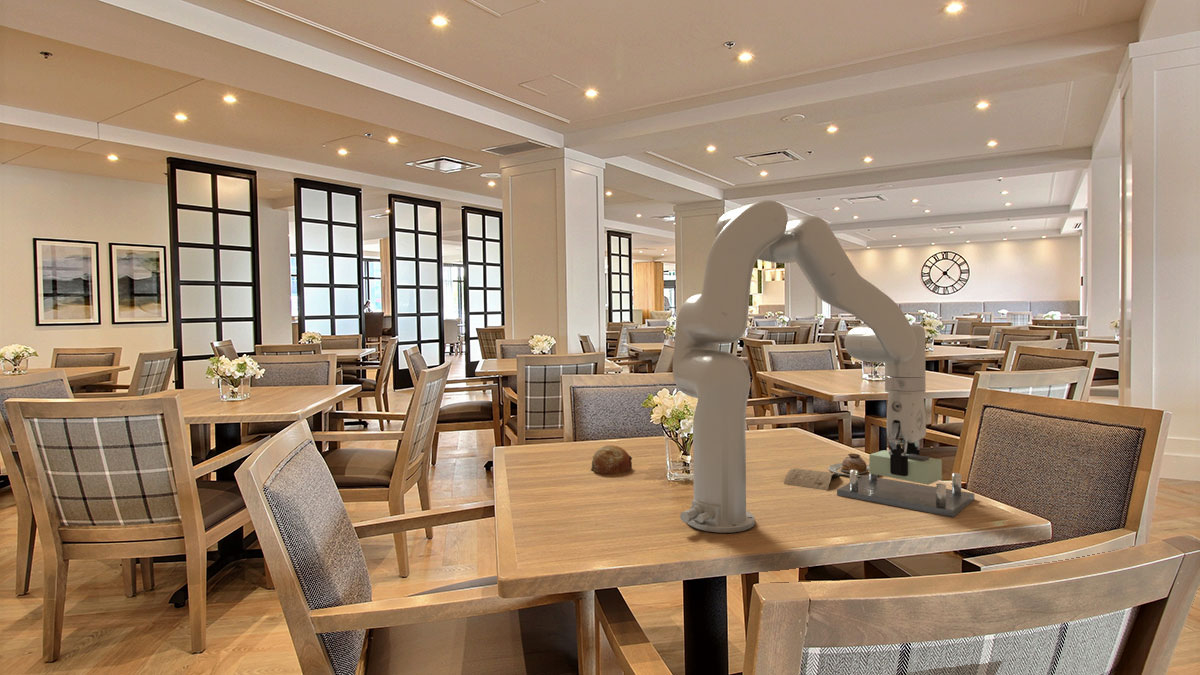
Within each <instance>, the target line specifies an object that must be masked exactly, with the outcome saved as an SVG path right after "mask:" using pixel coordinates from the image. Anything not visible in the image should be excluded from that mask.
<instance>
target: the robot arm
mask: <svg viewBox="0 0 1200 675" xmlns="http://www.w3.org/2000/svg"><path fill="white" fill-rule="evenodd" d="M714 237H715V239H714V240H713V243H712V245H711V246H710V249H709V252H708V254H707V258H706V262H705V270H704V276H703V284H702V290H701V293H696V294H694V295H692V296H691V297H688V298H687V299H686V300H685V301H684V302H683V303H682V305H681V307H680V308H679V312H678V313H677V317H676V324H675V332H674V345H673V354H672V355H673V356H672V376H673V377H672V378H673V381H674V383H675V385H676V387H677V389H679V391H680V392H681V393H683V394H685V395H687V396H689V397H692V398H694V399H697V404H696V406H695V410H694V414H693V421H692V450H693V451H692V452H693V453H692V456H693V458H692V459H693V460H692V461H693V466H692V468H693V469H692V470H693V474H692V475H693V499H692V500H691V507H690V508H689V509H686V510H685V511H682V512H681V513H680V514H679V517H680V520H681V521H682V522H683V523H685V524H686V523H687V524H688V526H690V527H692V528H694V529H697V530H699V531H700V530H701V531H703V532H710V533H719V534H726V533H727V534H728V533H738V532H739V533H741V532H745V531H747V530H749V529H751V528H753V527H754V526H755V523H756V518H755V515H754V514H753V513H751V512H750V511H749V510H747V459H746V458H747V451H746V450H747V448H746V444H747V441H746V423H747V422H746V420H747V418H746V417H747V406H748V400H749V396H750V395H749V394H750V388H751V374H750V370H749V368H748V365H747V364H746V363H745V361H744V360H743V359H741V357H739V356H738V355H736V354H734V353H732V352H728V351H724V350H719V345H720V344H732V343H734V342H737V341H739V340H740V339H741V338H742V337H743V336H744V335H745V333H746V331H747V326H748V320H749V309H750V307H749V306H750V296H751V295H750V294H751V284H752V278H753V277H752V276H753V272H754V268H755V264H756V262H757V260H758V261H763V262H769V263H775V264H776V263H777V264H791V263H796V264H797V266H798V267H799V269H800V270H801V272H802V274H803V275H804V276H805V278H806V280H807V281H808V282H809V284H810V286H811V287H812V289H813V290H814V292H815V293H816V295H817V297H818V299H819V300H821V301H823V302H824V303H825V304H828V305H829V306H832V307H834V308H836V309H838V310H841V311H844V312H847V313H848V314H850V315H852V316H854V317H856V318H857V319H858V320H861V321H862V322H863V323H864V324H861V325H860V324H859V325H857V326H854V327H853V328H851V329H850V330H848V332H847V333H846V335H845V338H844V344H843V345H844V348H845V351H846V353H848V355H849V356H850V357H851V358H853V359H855V360H858V361H862V362H871V363H882V364H883V363H884V392H885V393H888V395H887V405H886V438H887V440H888V444H889V450H890V473H891V474H894V475H900V476H907V475H908V456H906V454H916V455H920V453H921V452H920V447H921V446H920V445H921V444H920V440H921V439H923V438H925V437H926V435H927V425H926V424H927V423H926V420H927V419H926V407H925V404H926V402H925V396H924V394H926V389H927V388H926V385H927V384H926V330H925V328H924V327H923V326H922V325H920V324H910V322H909V320H908V318H907V317H906V315H905V313H904V311H903V310H902V308H901V307H900V306H899V305H898V303H896V302H895V301H894V300H893V299H892V298H891V297H890V296H888V295H887V294H886V293H885V292H883V291H882V290H881V289H879V288H878V287H877V286H875V284H872V282H870V281H869V280H867V279H865V278H864V277H863V276H862V275H860V274H859V272H858V271H857V269H856V268H855V266H854V265H853V262H852V261H851V260H850V257H849V256H848V255H847V253H846V251H845V250H844V248H843V247H842V245H841V244H840V242H839V240H838V238H837V237H836V236H835V233H834V232H833V230H832V228H831V227H830V226H829V224H828V223H827V222H826V220H824V219H823V218H821V217H818V216H816V215H807V216H806V215H805V216H801V217H796V218H792V219H791V218H790V219H789V217H788V212H787V210H786V207H784V205H783V204H782V203H780V202H777V201H776V200H770V199H766V200H760V201H756V202H753V203H749V204H747V205H743V206H742V207H738V208H735V209H731V210H729V211H727V212H726V213H724V214H723V215H722V216H720V217H719V219H718V220H717V222H716V224H715V228H714ZM901 445H902V446H901Z"/></svg>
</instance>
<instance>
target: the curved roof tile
mask: <svg viewBox="0 0 1200 675" xmlns="http://www.w3.org/2000/svg"><path fill="white" fill-rule="evenodd" d="M834 476H835V478H839V477H840V476H841V475H838V473H833V472H829V471H820V470H812V469H805V468H797V467H796V468H790V469H789V470H788V472H787V473H786V475H785V478H784V481H783V484H784V485H786V486H791V487H792V486H793V487H798V488H799V487H800V488H806V489H811V490H812V489H814V490H820V491H828V490H829V486H830V483H831V480H832V477H834Z"/></svg>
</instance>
